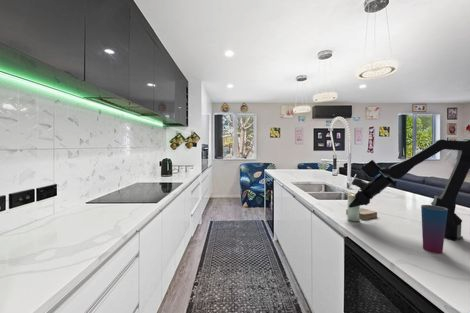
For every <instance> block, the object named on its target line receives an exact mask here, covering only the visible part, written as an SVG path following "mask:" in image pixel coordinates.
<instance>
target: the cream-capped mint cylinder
mask: <svg viewBox="0 0 470 313" xmlns="http://www.w3.org/2000/svg"><path fill="white" fill-rule="evenodd" d="M355 194H356V193H348V194H347V209H348V211H347V214H346V215H347V216H346V217H347V220H348V221H350V222H351V221H352V222H359V221H360V208H361V207H360V206H356V207H351V208H350V207H349V205H350V204H351V203H352V202H353V200H354V199H355Z"/></svg>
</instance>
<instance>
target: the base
mask: <svg viewBox="0 0 470 313" xmlns="http://www.w3.org/2000/svg"><path fill="white" fill-rule="evenodd" d="M345 211H346V212H345V213H346V215H347V211H348V208H347V209H346V210H345ZM375 218H378V212H377V211H373V210H371V209H367V208H365V207H360V218H359V220H360V219H361V220H368V219H375Z"/></svg>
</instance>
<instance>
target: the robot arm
mask: <svg viewBox="0 0 470 313" xmlns="http://www.w3.org/2000/svg"><path fill="white" fill-rule="evenodd" d="M443 150H447V151H448V150H449V151H457V157H456V162H455V164H454V166H453V169H452V172H451V173H450V175H449V177H448V180H447V183H446V185H445V186H444V189H443V191H442V193H441V194H440V195H434V196H433V201H432V202H431V203H430V205H434V206H440V207H444V208H447V209H448V212H447V220H446V228H445V236H444V239H449V240H452V241H458V240H462V239H464V236H462V223H463V220H462V218H460V216H458V215H457V214H456V206H457V197H458V195H459V193H460V190H461V188H462V186H463V184H464V182H465V179H466V178H467V176H468V173H469V171H470V138H469V139H464V140H449V139H447V140H446V139H437V140H435V141H434V142H433V143H432V144H430V145H429V146H427V147H425V148H424V149H422V150H420V151H419V152H417V153H416V154H414V155H412V156H410V157H409V158H407V159H405V160H403V161H400V162H399V161H398V162H397V163H395V164H392V165H391V166H389V167H380V166H379V165H378V164H377V163H376V161H375V160H373V159H371V160H369V162H368V163H366V164H363V165H362V166H361V168H359V170H360V171H361V172H362V173H364V174H365V176H367V177H368V178H373V179H372V181H368V182H366V181H365V180H363V179H361V178H358V177H354V178H353V180H352V182H351V185H353V186H355V187H358V188H359V190H358V189H357V190H358V191H357V192H356V193H354V194H355V199H354V200H353V202H352V203H351V204H350V205H349V207H350V208H351V207H356V206H368V205H369V204H370V203H371V200H372V199H373V198H374V197H376V196H377V195H379V194H381V192H382V191H384V190H385V189H386V188H388V187H389V186H390V185H392V186H393V187H394V188H396V187H397V182H398V180H399V179H401V178H403V177H404V176H405V175H406V174H408V173H409V172H410V171H411V170H412V169H413V168H415V167H416V166H417V165H420V164H421V163H423V162H424V161H426V160H428V159H430V158H431V157H433V156H435V155H436V154H439V153H440V152H441V151H443ZM386 175H387V176H386ZM375 177H376V178H375ZM394 179H395V180H394ZM396 179H398V180H396Z"/></svg>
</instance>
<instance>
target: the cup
mask: <svg viewBox="0 0 470 313" xmlns="http://www.w3.org/2000/svg"><path fill="white" fill-rule="evenodd" d="M420 208H421V211H420V212H421V233H422V249H423V250H424V251H427V252H429V253H432V254H443V250H444V243H445V237H444V236H445V228H446V220H447V212H448V209H447V208H444V207H440V206H434V205H431V204H422V205H421V206H420Z"/></svg>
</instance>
